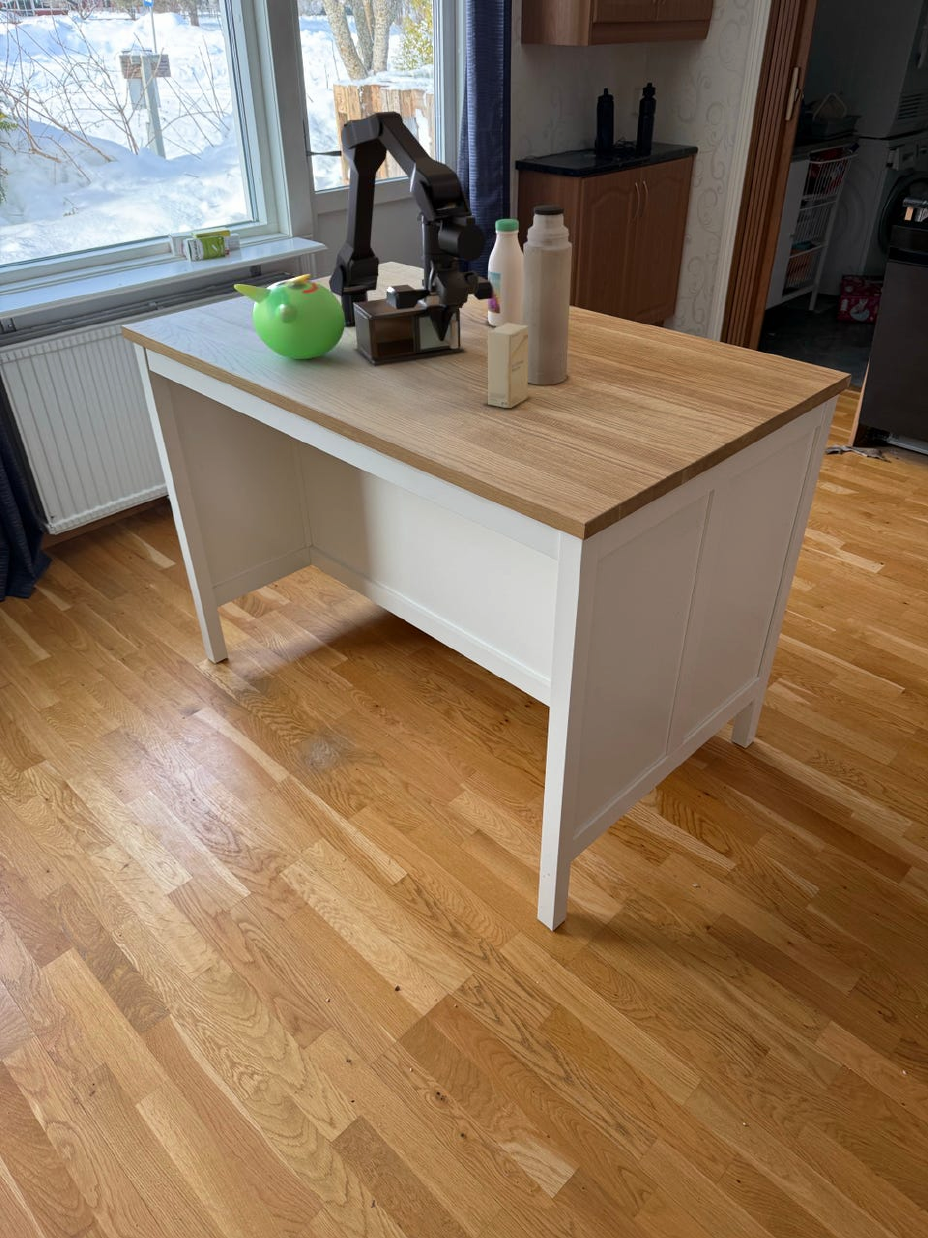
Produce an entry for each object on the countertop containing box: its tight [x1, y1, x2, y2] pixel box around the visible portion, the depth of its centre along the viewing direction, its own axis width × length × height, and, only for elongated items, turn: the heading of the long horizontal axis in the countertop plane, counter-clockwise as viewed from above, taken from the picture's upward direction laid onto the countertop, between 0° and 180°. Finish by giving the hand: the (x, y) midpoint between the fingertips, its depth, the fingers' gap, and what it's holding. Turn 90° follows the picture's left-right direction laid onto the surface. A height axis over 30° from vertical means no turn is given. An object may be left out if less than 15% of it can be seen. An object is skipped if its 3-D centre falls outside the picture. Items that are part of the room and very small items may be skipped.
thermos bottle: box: [521, 204, 573, 386], centre depth 152 cm, size 8×8×28 cm
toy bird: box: [233, 273, 346, 360], centre depth 168 cm, size 18×17×15 cm
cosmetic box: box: [487, 323, 528, 409], centre depth 146 cm, size 6×4×12 cm
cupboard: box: [353, 293, 464, 366], centre depth 171 cm, size 11×18×9 cm, turn 113°
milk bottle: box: [487, 218, 523, 327], centre depth 183 cm, size 8×8×20 cm
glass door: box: [414, 308, 462, 353], centre depth 167 cm, size 6×9×7 cm, turn 113°
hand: (441, 340), depth 165 cm, fingers closed
